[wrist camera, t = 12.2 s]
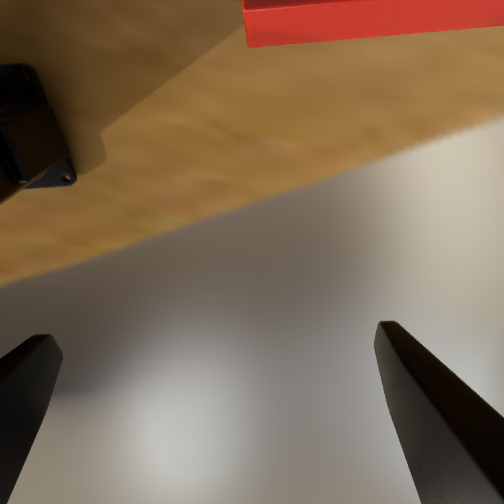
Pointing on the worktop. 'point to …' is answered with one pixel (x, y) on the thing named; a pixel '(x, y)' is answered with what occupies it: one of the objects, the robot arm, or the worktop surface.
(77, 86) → the worktop surface
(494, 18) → the lever
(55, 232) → the worktop surface
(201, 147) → the worktop surface
